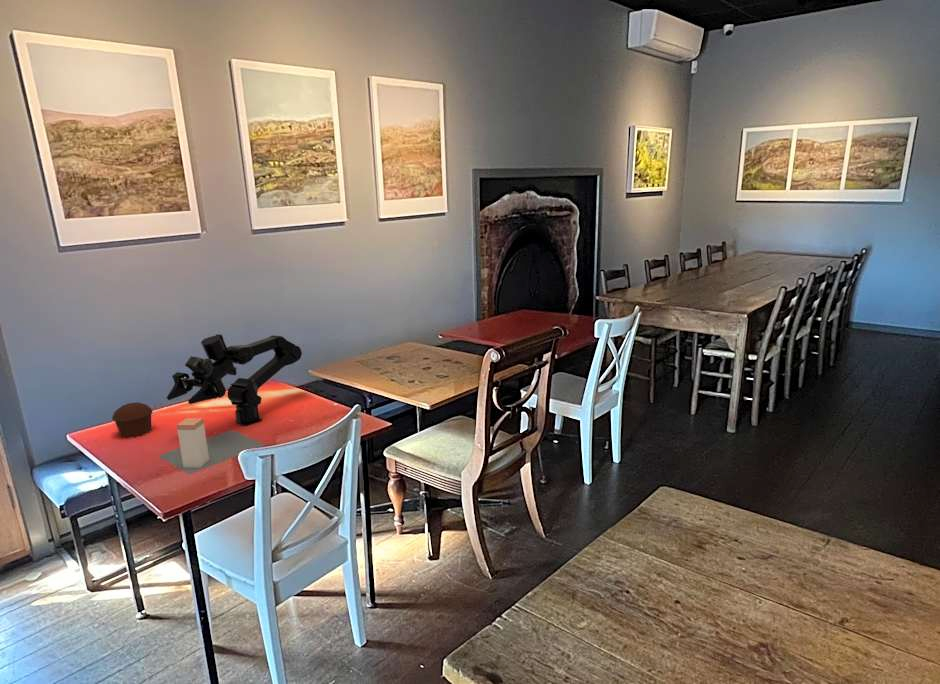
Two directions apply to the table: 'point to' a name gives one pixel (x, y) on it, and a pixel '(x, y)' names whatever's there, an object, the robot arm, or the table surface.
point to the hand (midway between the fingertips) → (178, 400)
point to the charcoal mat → (215, 450)
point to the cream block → (193, 442)
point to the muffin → (133, 419)
